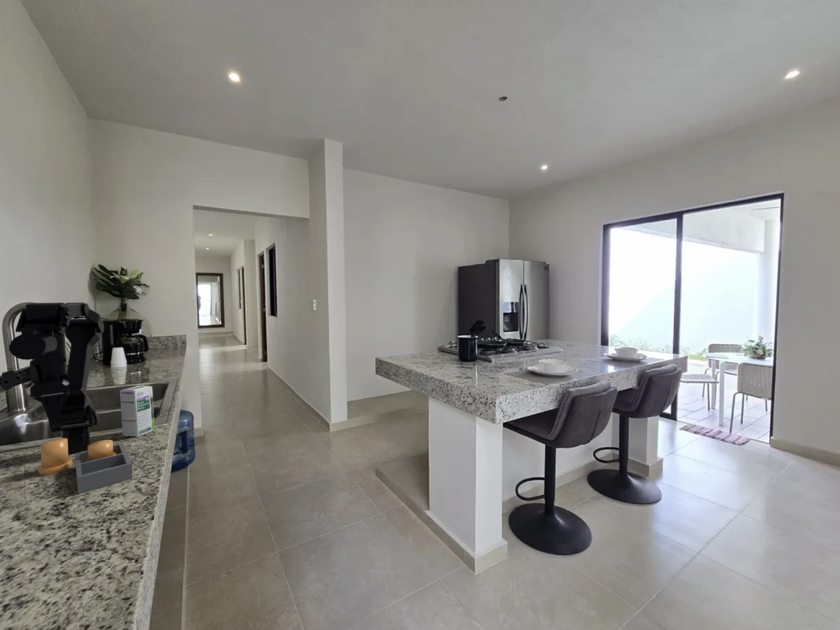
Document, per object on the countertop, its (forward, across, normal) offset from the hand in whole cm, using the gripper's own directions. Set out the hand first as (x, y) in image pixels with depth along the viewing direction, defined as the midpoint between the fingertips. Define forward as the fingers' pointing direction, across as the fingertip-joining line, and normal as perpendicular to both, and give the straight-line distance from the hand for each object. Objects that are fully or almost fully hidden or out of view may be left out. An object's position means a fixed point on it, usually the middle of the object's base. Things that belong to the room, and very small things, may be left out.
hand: (52, 417), depth 86 cm
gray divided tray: (+13, +11, +8) cm, 19 cm away
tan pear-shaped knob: (+13, 0, 0) cm, 13 cm away
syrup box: (+13, -15, +18) cm, 27 cm away
